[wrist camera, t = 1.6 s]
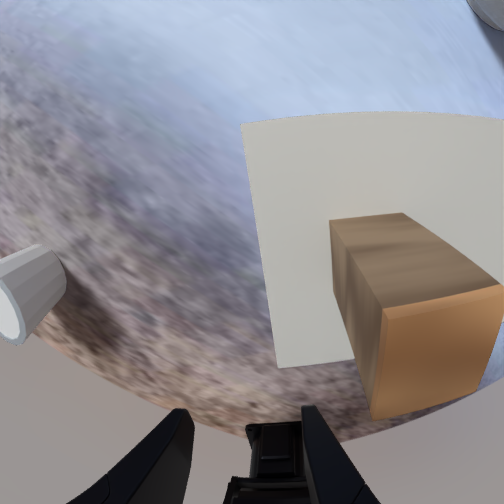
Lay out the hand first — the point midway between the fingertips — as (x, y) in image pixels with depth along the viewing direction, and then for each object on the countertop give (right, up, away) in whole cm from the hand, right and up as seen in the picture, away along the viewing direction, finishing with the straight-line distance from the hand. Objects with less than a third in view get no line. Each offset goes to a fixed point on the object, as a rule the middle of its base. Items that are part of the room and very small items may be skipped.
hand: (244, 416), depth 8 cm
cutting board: (+13, +6, +11) cm, 18 cm away
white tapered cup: (-19, +3, +14) cm, 24 cm away
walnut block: (+8, +5, +10) cm, 14 cm away
